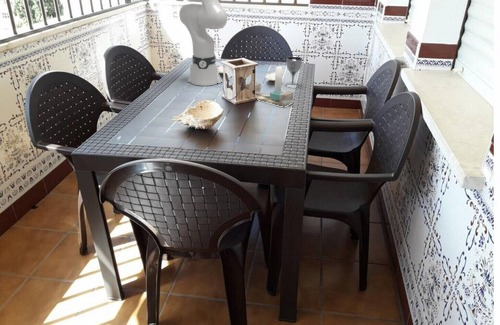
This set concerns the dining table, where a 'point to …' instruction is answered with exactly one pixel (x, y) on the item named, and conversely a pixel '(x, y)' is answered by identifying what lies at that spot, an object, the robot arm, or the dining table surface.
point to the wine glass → (294, 65)
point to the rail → (283, 99)
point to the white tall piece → (277, 84)
